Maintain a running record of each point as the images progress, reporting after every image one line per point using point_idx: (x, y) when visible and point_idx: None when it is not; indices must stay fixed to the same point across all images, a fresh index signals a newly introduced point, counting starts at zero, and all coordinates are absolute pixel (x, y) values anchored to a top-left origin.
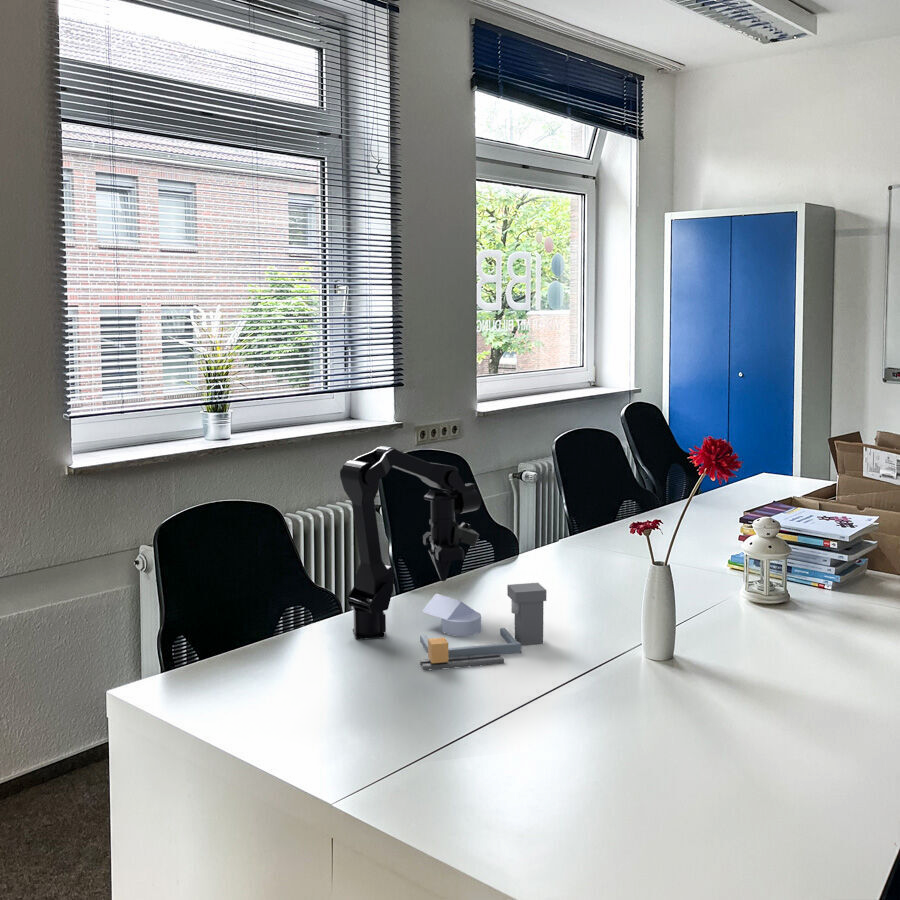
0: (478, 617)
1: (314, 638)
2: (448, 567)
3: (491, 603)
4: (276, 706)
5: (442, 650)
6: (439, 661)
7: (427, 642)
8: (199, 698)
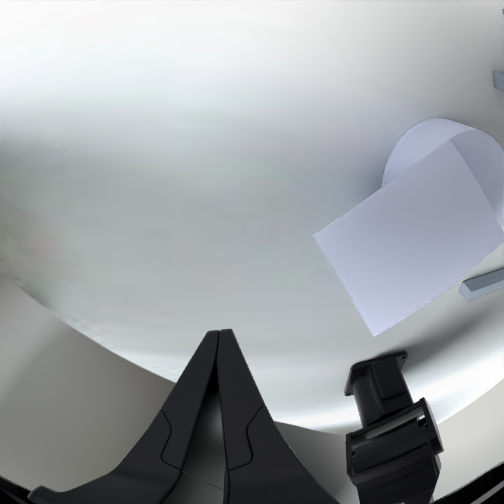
0: (499, 152)
1: (354, 413)
2: (270, 416)
3: (113, 24)
4: (492, 374)
5: None
6: None
7: (500, 285)
8: (445, 413)
